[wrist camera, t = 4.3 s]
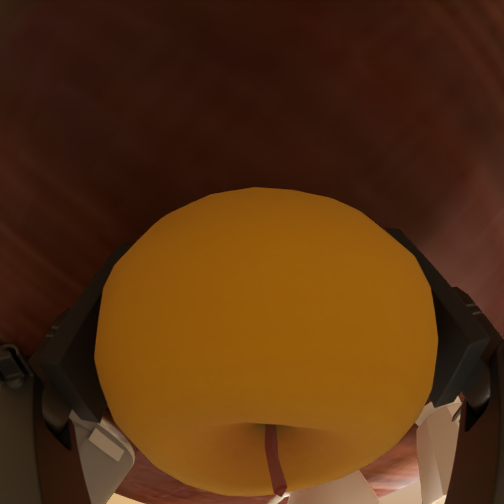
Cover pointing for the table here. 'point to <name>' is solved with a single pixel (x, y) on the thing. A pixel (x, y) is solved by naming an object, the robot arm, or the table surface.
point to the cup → (436, 449)
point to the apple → (265, 342)
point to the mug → (334, 492)
